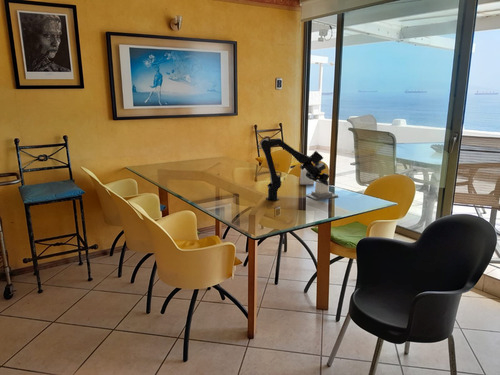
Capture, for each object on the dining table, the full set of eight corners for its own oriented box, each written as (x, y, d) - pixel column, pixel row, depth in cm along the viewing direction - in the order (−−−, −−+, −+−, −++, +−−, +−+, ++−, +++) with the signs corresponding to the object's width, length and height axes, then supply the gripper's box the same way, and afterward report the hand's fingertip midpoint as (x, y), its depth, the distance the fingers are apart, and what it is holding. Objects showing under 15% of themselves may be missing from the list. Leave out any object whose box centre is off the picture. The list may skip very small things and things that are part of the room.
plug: (315, 194, 248) (315, 180, 245) (323, 193, 251) (324, 179, 248) (319, 196, 244) (320, 181, 241) (328, 195, 247) (329, 180, 244)
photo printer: (300, 184, 279) (301, 168, 276) (299, 183, 283) (300, 167, 280) (314, 184, 279) (315, 168, 276) (313, 183, 283) (314, 167, 280)
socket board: (305, 195, 249) (305, 191, 248) (326, 192, 257) (327, 188, 256) (315, 200, 238) (316, 195, 238) (338, 197, 246) (338, 192, 245)
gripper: (327, 161, 231) (340, 177, 239) (310, 157, 248) (322, 171, 255) (316, 175, 230) (329, 190, 237) (299, 169, 246) (312, 184, 254)
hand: (324, 183), depth 246 cm, fingers open, 8 cm apart
